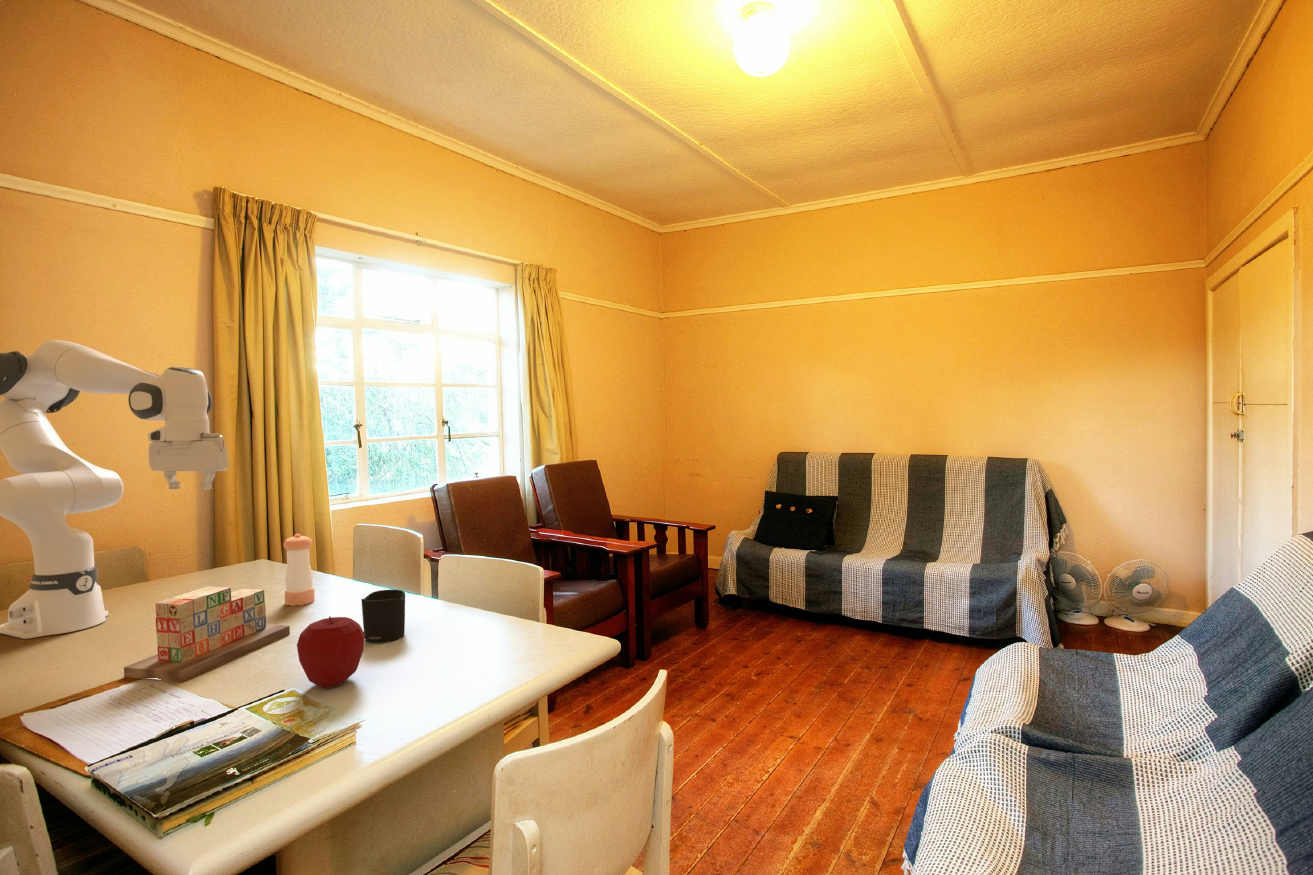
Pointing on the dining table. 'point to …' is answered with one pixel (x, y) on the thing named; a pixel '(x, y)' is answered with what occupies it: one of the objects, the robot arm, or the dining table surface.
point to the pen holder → (384, 616)
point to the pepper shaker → (298, 571)
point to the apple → (330, 650)
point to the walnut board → (204, 657)
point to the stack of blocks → (206, 621)
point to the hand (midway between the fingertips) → (190, 489)
